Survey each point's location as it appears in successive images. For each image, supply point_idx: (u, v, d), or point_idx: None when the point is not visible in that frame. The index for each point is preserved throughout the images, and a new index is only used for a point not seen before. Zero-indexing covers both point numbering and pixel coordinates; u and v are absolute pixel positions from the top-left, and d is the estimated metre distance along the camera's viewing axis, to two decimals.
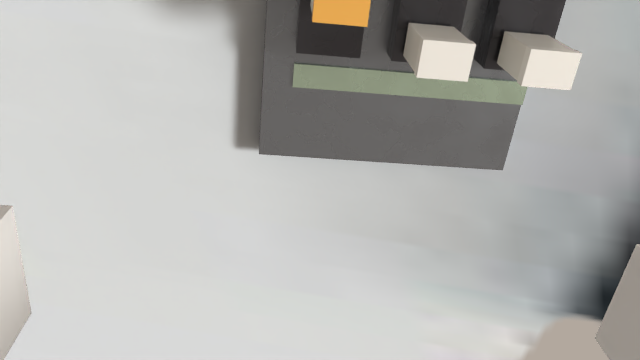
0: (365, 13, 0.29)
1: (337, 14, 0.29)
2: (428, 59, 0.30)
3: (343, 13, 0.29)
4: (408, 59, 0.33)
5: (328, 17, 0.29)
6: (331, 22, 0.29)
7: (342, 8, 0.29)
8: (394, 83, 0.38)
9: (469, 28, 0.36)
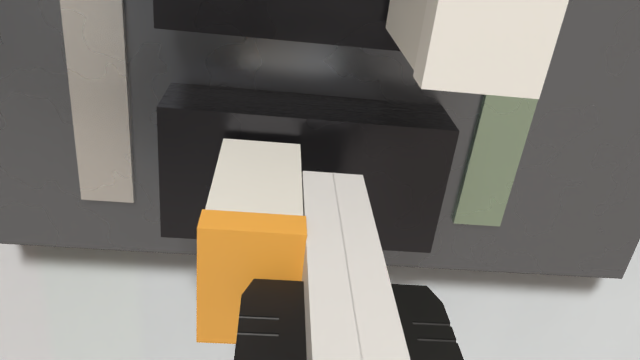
0: (271, 241, 0.11)
1: None
2: (486, 67, 0.09)
3: None
4: None
5: None
6: None
7: None
8: None
9: None
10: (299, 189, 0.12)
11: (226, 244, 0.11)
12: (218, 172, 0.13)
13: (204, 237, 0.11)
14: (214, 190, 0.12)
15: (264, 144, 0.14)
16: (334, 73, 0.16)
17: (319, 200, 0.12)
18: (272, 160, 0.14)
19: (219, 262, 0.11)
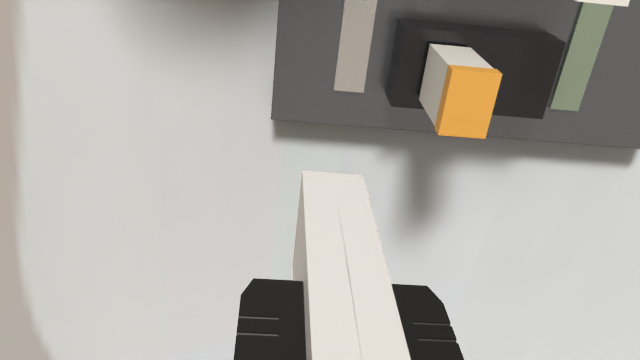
0: (485, 77, 0.23)
1: (481, 110, 0.24)
2: None
3: (481, 103, 0.23)
4: None
5: (483, 120, 0.24)
6: (489, 117, 0.24)
7: (475, 104, 0.23)
8: None
9: None
10: (485, 61, 0.24)
11: (464, 78, 0.23)
12: (441, 54, 0.25)
13: (454, 74, 0.23)
14: (446, 60, 0.24)
15: (452, 46, 0.26)
16: (490, 13, 0.28)
17: (318, 200, 0.12)
18: (462, 52, 0.26)
19: (458, 88, 0.23)
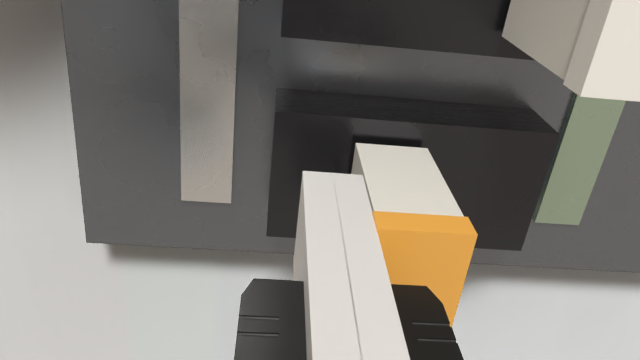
0: (443, 240, 0.12)
1: (438, 296, 0.12)
2: None
3: (437, 284, 0.12)
4: None
5: None
6: (454, 306, 0.12)
7: (426, 285, 0.12)
8: None
9: None
10: (448, 191, 0.13)
11: (402, 244, 0.11)
12: (368, 175, 0.13)
13: (382, 237, 0.11)
14: (373, 193, 0.13)
15: (395, 148, 0.15)
16: (432, 78, 0.17)
17: (319, 200, 0.12)
18: (410, 164, 0.14)
19: (392, 260, 0.12)
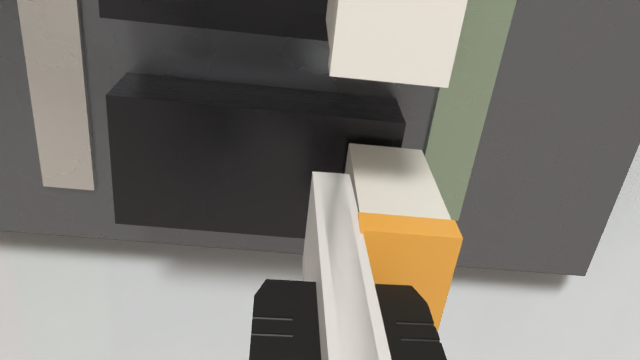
0: (428, 243, 0.11)
1: None
2: (393, 55, 0.10)
3: (422, 288, 0.12)
4: None
5: None
6: (440, 310, 0.12)
7: None
8: (484, 11, 0.16)
9: None
10: (438, 194, 0.13)
11: (385, 245, 0.11)
12: (357, 176, 0.13)
13: (366, 239, 0.11)
14: (361, 194, 0.13)
15: (389, 149, 0.15)
16: (287, 65, 0.16)
17: (329, 201, 0.12)
18: (401, 165, 0.14)
19: (376, 262, 0.12)
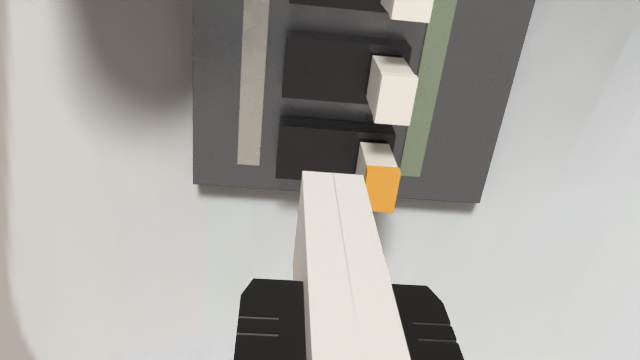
0: (389, 174, 0.34)
1: (389, 195, 0.35)
2: (393, 117, 0.33)
3: (388, 190, 0.35)
4: None
5: (390, 201, 0.35)
6: (395, 199, 0.35)
7: (384, 191, 0.35)
8: (426, 89, 0.39)
9: (379, 19, 0.36)
10: (394, 159, 0.36)
11: (375, 175, 0.34)
12: (364, 154, 0.36)
13: (369, 173, 0.34)
14: (366, 159, 0.36)
15: (376, 144, 0.38)
16: (346, 111, 0.39)
17: (318, 200, 0.12)
18: (381, 150, 0.37)
19: (372, 181, 0.35)
